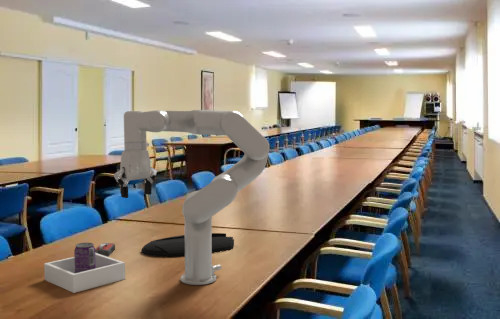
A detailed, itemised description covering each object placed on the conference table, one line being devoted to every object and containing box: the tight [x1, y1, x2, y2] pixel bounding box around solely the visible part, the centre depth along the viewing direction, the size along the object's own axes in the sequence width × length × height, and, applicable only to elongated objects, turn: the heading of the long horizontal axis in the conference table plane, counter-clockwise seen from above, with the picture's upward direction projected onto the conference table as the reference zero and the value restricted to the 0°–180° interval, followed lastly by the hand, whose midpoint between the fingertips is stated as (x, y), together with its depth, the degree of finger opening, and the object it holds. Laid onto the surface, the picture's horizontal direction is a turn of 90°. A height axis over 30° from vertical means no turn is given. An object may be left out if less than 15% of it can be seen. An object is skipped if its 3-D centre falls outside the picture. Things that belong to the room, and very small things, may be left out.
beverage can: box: [73, 242, 96, 273], centre depth 190 cm, size 7×7×12 cm
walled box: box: [43, 253, 126, 294], centre depth 191 cm, size 20×20×6 cm
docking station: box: [140, 232, 235, 258], centre depth 234 cm, size 25×41×5 cm, turn 117°
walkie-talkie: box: [94, 242, 116, 257], centre depth 223 cm, size 9×4×20 cm
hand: (136, 195), depth 187 cm, fingers open, 9 cm apart
